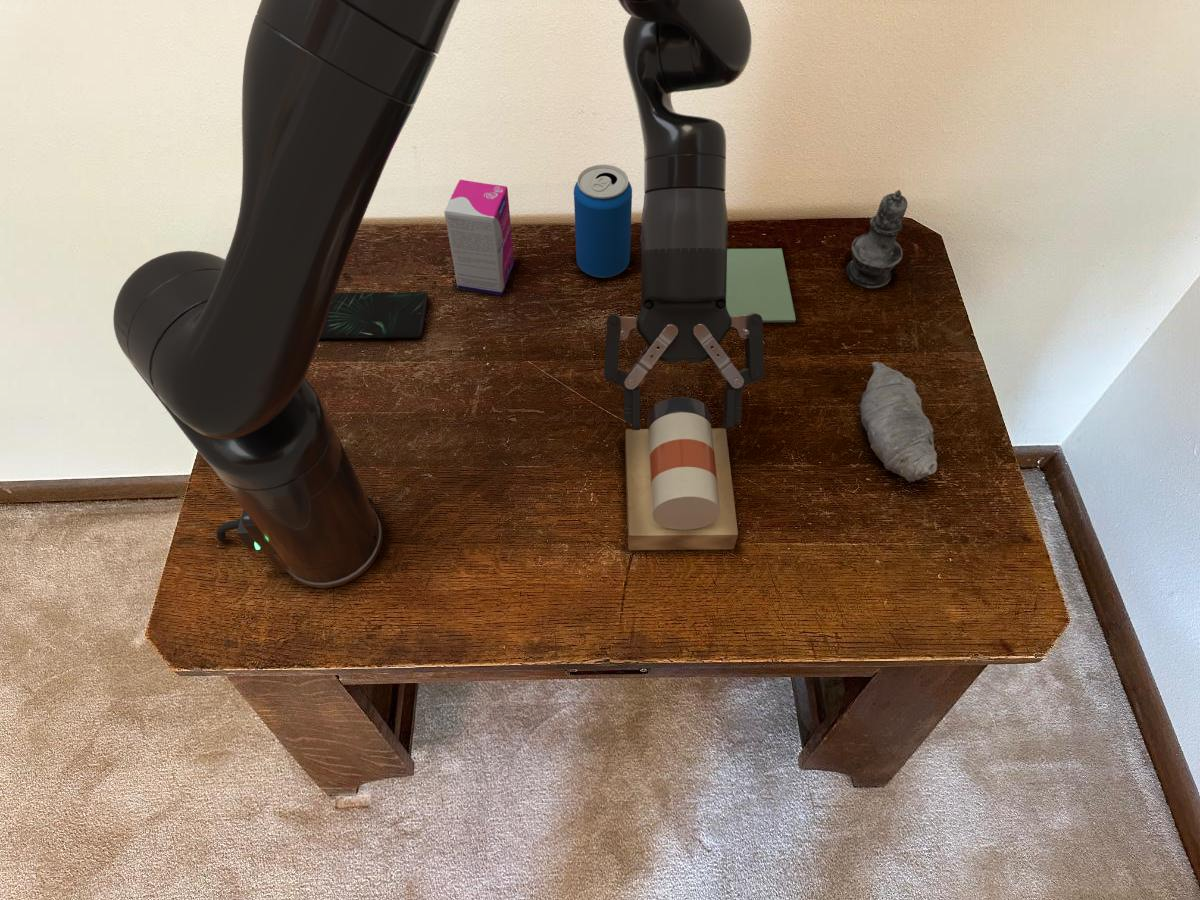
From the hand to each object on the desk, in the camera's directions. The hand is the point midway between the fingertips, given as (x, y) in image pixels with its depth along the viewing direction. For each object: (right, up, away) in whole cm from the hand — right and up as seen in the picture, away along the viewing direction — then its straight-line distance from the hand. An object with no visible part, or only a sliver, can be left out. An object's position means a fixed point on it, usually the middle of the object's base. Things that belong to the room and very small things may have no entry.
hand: (682, 428), depth 73 cm
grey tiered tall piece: (+25, +19, +23) cm, 39 cm away
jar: (0, -5, +3) cm, 6 cm away
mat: (+9, +18, +22) cm, 29 cm away
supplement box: (-21, +19, +23) cm, 37 cm away
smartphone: (-35, +13, +19) cm, 42 cm away
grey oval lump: (+22, -1, +10) cm, 24 cm away
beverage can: (-7, +21, +24) cm, 33 cm away
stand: (0, -6, +6) cm, 8 cm away
